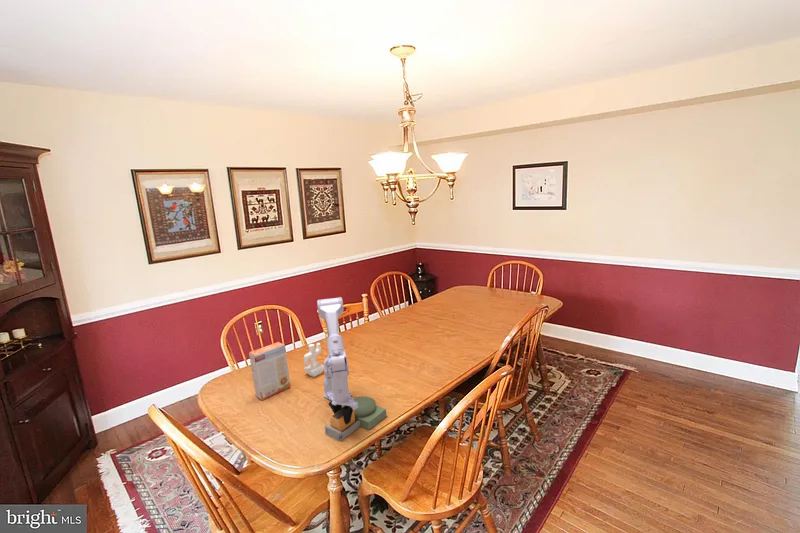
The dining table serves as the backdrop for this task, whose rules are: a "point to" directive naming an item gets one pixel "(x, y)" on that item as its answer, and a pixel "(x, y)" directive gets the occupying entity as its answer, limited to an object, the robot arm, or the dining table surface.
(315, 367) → the figurine
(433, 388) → the dining table surface
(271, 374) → the cracker box
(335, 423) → the orange-framed grey panel
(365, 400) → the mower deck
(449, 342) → the dining table surface
